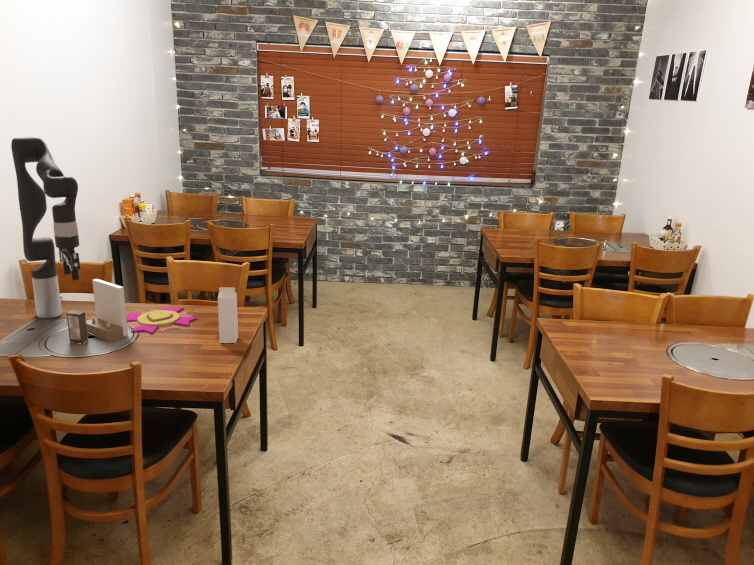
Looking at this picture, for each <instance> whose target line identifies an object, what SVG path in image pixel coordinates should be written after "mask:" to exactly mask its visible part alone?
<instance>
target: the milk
mask: <svg viewBox="0 0 754 565" xmlns="http://www.w3.org/2000/svg"><path fill="white" fill-rule="evenodd" d="M218 290H219V291H218V296H217V311H218V314H217V315H218V331H219V334H218V335H219V344H220V343H235V344H236V343H237V341H238V340H239V324H238V318H239V317H238V293H237V292H236V288H235V287H229V286H228V287H226V286H225V287H223V286H220V287H219V288H218ZM237 339H238V340H237Z"/></svg>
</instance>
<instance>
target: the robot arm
mask: <svg viewBox="0 0 754 565" xmlns="http://www.w3.org/2000/svg"><path fill="white" fill-rule="evenodd" d="M10 148H11V153H12V159H13V164H14V169H15V170H14V171H15V176H16V182H17V183H16V184H17V193H18V194H17V197H18V204H19V211H20V218H21V226H22V243H23V244H22V245H23V246H22V247H23V255H24V258H25V259H26V261H28V262H37V261H45V262H44V263H42V264H41V265H38V266H37V267H35V268H33V269H32V270H31V272H30V273H31V274H30V275H31V280H32V281H31V282H32V287H33V288H32V289H33V297H34V299H33V300H34V304H35V311H36V317H37V318H39V319H52V318H56V317H59V316H61V315H63V311H62V304H61V303H62V302H61V295H60V294H61V293H60V288H59V279H58V271H57V264H56V250H55V247H56V248H58V256H59V261H60V263H61V265H62V270H63V275H65V276H67V275H68V276H69V275H70V276H71V281H74V282H75V281H79V279H80V276H79V270H81V263H80V256H79V255H80V254H79V253H78V252H77V251H75V248H78V247H79V246H80V237H79V230H78V229H79V228H78V223H77V219H76V202H77V201H76V200H77V196H78V192H79V184H78V182H77V180H76V179H75V178H74V177H73V176H67V175H66V176H65V175H64V173H63V172H62V170H61V168H60V167H58V165H57V164H56V163H55V161H54V159H53V156H52V154H51V152H50V150H49V147H48V146H47V143H46V142H45V141H44V139H43V138H41V137H39V136H38V137H37V136H27V137H26V136H25V137H21V136H20V137H14V138H12V140H11V146H10ZM27 163H36V166H35V171H36V173H37V176H38V177H39V178H40V180H41V181H42V183H43V188H42V187H41V186H40V185H39V183H38V182H37V181H36V180H35V179H34V178H33V177H32V176H31V174H30V173H29V172H28V169H27V168H26V166H27V165H26V164H27ZM47 197H48V198H51V199H58V198H64V201H62V202H60V203H57V204H54V205H53V206H52V207H51V212H52V219H53V234H54V241H53V238H52V237H47V236H46V237H37V238H36V237H35V238H33V237H34V233H35V231H36V228H37V227H38V225H39V224H40V222H41V221H42V219H43V218H44V216H45V215H46V212H47V210H48V207H47V206H48V205H47Z"/></svg>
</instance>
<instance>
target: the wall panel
mask: <svg viewBox="0 0 754 565" xmlns="http://www.w3.org/2000/svg"><path fill="white" fill-rule="evenodd" d="M91 282H92V290H93V300H94V306H95V307H94V308H95V316H92V317H91V318H90V319H86V327H87V332H89V333H92V334H94V335H96V336H98V337H97V338H99V337H101V338H100V339H102V338H103V339H102V340H104V339H105V340H104V341H107V342H109V341H110V342H112V340H113V341H116V340H119V339H121V337H122V338H124V336H125V337H128V336H129V333H128V332H129V331H128V325H127V323H128V321H127V319H126V317H127V309H126V301H125V300H126V299H125V289H124V288H125V287H124V286H121V285H118V284H115V283H111V282H108V281H105V280H102V279H98V278H94V279H92V281H91ZM89 333H88V334H89ZM94 335H93V336H94ZM127 335H128V336H127ZM96 336H95V337H96ZM118 338H119V339H118ZM115 339H116V340H115Z"/></svg>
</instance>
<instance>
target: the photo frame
mask: <svg viewBox="0 0 754 565" xmlns="http://www.w3.org/2000/svg"><path fill="white" fill-rule="evenodd" d="M66 320H67V321H66V322H67V328H68V337H69V343H70V342H74V343H73V344H76V343H81V344H80V345H84V344H85V343H84V342H86V341H88V342H89V338H88V333H87V327H86V321H87V319H86V312H85V311H82V310H81V311H79V310H69V311H67V312H66ZM83 343H84V344H83ZM86 343H87V342H86Z"/></svg>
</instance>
